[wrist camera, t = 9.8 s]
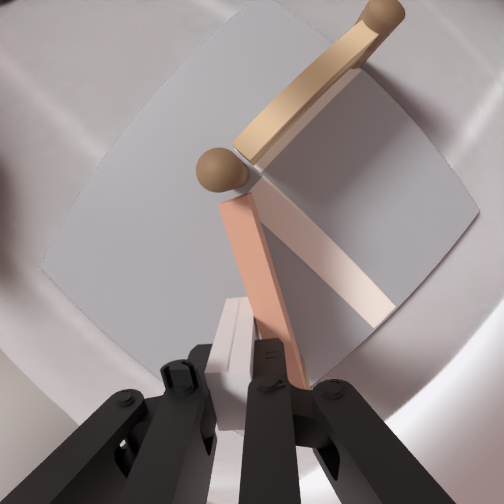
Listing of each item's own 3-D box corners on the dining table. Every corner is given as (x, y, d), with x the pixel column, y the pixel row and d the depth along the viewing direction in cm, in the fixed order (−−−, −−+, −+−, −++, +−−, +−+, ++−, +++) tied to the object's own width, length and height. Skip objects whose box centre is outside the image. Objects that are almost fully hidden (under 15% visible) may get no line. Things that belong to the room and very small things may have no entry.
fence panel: (226, 199, 17) (206, 209, 11) (255, 190, 16) (250, 195, 11) (283, 376, 19) (288, 442, 13) (307, 370, 19) (320, 435, 13)
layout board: (262, -3, 15) (262, -8, 14) (475, 209, 17) (480, 210, 16) (43, 264, 19) (38, 267, 19) (242, 431, 22) (242, 437, 21)
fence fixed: (348, 42, 15) (382, -12, 8) (368, 59, 15) (411, 12, 9) (214, 175, 17) (186, 172, 11) (236, 194, 17) (219, 202, 11)
